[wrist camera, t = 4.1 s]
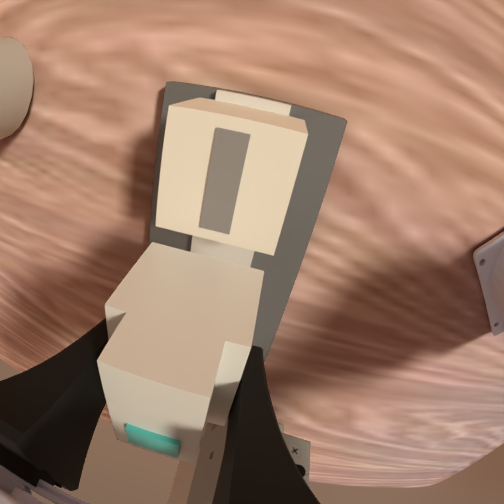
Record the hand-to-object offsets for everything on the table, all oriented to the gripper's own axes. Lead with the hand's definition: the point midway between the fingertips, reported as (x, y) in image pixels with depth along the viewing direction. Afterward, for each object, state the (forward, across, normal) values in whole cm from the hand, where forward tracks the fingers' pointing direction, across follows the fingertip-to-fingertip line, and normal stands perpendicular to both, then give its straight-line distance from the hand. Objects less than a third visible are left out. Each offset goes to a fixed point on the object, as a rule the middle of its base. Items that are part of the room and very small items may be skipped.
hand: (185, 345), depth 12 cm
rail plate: (+8, 0, 0) cm, 8 cm away
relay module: (+2, 0, 0) cm, 2 cm away
